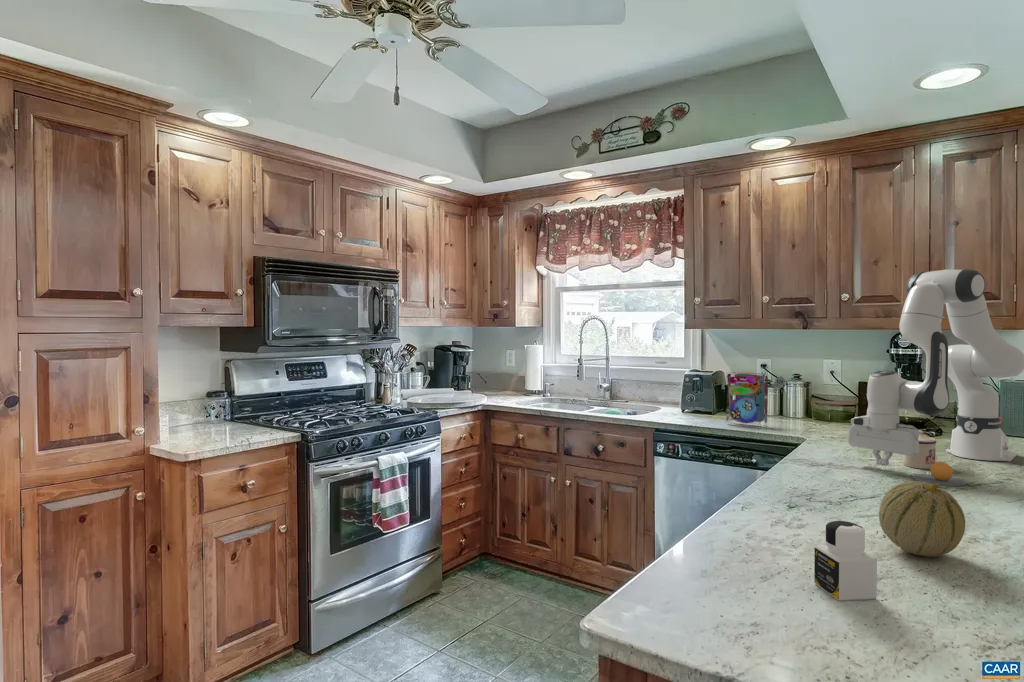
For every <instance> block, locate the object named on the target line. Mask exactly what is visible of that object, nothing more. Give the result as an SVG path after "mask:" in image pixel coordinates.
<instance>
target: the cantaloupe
mask: <svg viewBox="0 0 1024 682" xmlns="http://www.w3.org/2000/svg"><path fill="white" fill-rule="evenodd" d="M881 499H882V500H881V502H880V505H879V511H878V520H879V525H880V528H881V530H882V532H883V533H884V535H885V536H886V537H888V539H889V540H890V541H891V543H893V544H894V545H895V546H897V547H898V548H900V549H901V550H902V551H904V552H906V553H910V554H913V555H915V556H920V557H927V558H929V557H931V558H932V557H940V556H943V555H946V554H949V553H951V552H952V551H954V550H955V549H956V548H957V547H958V545H959V544H960V543H961V541H962V539H963V538H964V535H965V530H966V524H967V523H966V516H965V513H964V510H963V509H962V507H961V505H960V504H959V502H958V501H957V500H956V499H955V497H954V496H953V495H952V494H950V493H949V492H948V490H945V489H943V488H942V487H941V485H939V484H928V483H925V482H920V481H917V480H915V481H905V482H901V483H898V484H897V485H894V486H892V487H891V488H890V489H888V491H887V492H886V493H885V494H884V496H883V497H882V498H881Z"/></svg>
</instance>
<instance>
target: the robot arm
mask: <svg viewBox="0 0 1024 682" xmlns="http://www.w3.org/2000/svg"><path fill="white" fill-rule="evenodd" d="M985 289H986V279H985V277H984V276H983V275H982V274H981V272H979V271H978V270H974V269H969V268H965V269H954V268H953V269H942V270H939V269H938V270H932V271H921V272H917V273H914V274H913V275H911V276H910V278H909V279H908V281H907V283H906V293H907V296H906V299H905V301H904V304H903V308H902V310H901V315H900V319H899V332H900V334H901V335H902V337H903V338H904V339H905V340H906V341H907V342H908V343H910V344H913V345H915V346H917V347H919V348H920V349H922V350H923V351H924V353H925V356H926V359H925V360H926V362H925V363H926V365H925V379H924V380H923V382H921V381H912V380H908V379H905V378H902V377H901V376H899V375H898V372H896V371H894V370H888V369H887V370H876V371H874V372H872V373H870V375H869V377H868V381H867V387H866V399H867V403H868V404H867V409H866V414H865V415H864V414H863V415H861V416H855V417H853V418H851V419H850V424H851V426H850V427H849V428H848V437H847V438H848V439H847V442H848V444H849V445H850V446H851V447H855V448H856V447H857V448H863V449H868V450H872V454H873V456H874V457H875V459H876V460H875V461H876V465H882V466H888V465H889V461H890V459H891V458H892V456H893V454H897V455H903V454H904V455H910V456H914V455H917V454H918V453H919V441H918V438H919V431H918V430H919V429H918V428H917V427H915V426H914V425H913V424H912V425H911V424H904V423H900V411H899V410H901V411H907V412H912V413H918V414H921V415H925V416H930V417H935V416H936V417H937V416H938V415H940V414H942V413H943V412H945V410H946V409H947V408H948V407H949V404H950V393H949V388H948V378H949V379H950V380H951V382H952V383H953V386H954V387H955V390H956V394H957V403H958V406H957V407H958V412H957V413H958V414H956V419H955V420H956V425H957V426H956V427H955V428H953V429H952V431H951V441H950V448H946V450H945V451H946V453H949V454H952V455H953V456H957V457H960V458H966V459H971V460H979V461H995V462H996V461H997V462H999V461H1000V462H1012V461H1014V459H1015V458H1017V456H1018V454H1017V451H1013V450H1009V444H1010V443H1009V437H1008V436H1007V435H1006V434H1005V433H1004V431H1003V430H1002V429H1001V428H1002V425H1001V424H1003V417H1002V416H999V405H1000V404H999V403H1000V402H999V401H1000V400H999V399H1000V398H999V396H998V394H997V392H996V391H995V390H993V389H991V388H989V387H988V386H986V385H985V384H984V383H983V382H982V380H981V377H983V378H999V379H1001V378H1010V377H1011V378H1012V377H1017V376H1019V375H1020V374H1021V373H1023V371H1024V353H1023V351H1022V350H1021V349H1019V348H1018V347H1016V346H1014V345H1012V344H1010V343H1008V342H1007V341H1006V340H1005V339H1004V338H1002V337H1001V336H1000V334H999V333H998V332H997V331H996V329H995V327H994V326H993V322H992V319H991V316H990V312H989V309H988V305H987V301H986V297H985V295H984V292H985ZM944 305H945V307H946V308H945V307H944ZM944 308H945V309H946V314H947V318H948V322H949V326H950V331H951V332H952V334H953V335H954V337H956V338H958V339H959V340H962V341H963V342H965V343H967V344H953V345H952V344H951V345H949V342H948V338H947V336H946V334H944V333H943V331H942V321H943V316H944V315H943V314H944ZM881 452H884V455H885V457H884V458H883V457H881V455H880V454H881Z"/></svg>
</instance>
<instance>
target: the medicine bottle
mask: <svg viewBox="0 0 1024 682" xmlns="http://www.w3.org/2000/svg"><path fill="white" fill-rule="evenodd" d="M865 540H866V530H865V529H864V528H863V527H862V526H860V525H858V524H857V523H854V522H851V521H847V520H846V521H845V520H833V521H830V522H827V524H825V544H821V545H819V544H818V545H815V546H814V566H813V568H814V570H813V571H814V573H813V576H814V578H813V579H814V585H816V586H818V587H819V588H820V589H821V590H823V591H825V592H826V593H827V594H829V595H830V596H831V597H833V598H834V599H835V600H836V601H838V602H842V601H844V602H845V601H846V602H847V601H861V600H863V601H864V600H876V599H877V598H878V597H877V595H878V591H877V589H878V587H877V586H878V577H877V576H878V559H877V558H876V557H875V556H873V555H871V554H869V553H868V552H865V551H866V550H865V549H866V547H865V546H866V544H865V542H866V541H865Z"/></svg>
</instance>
